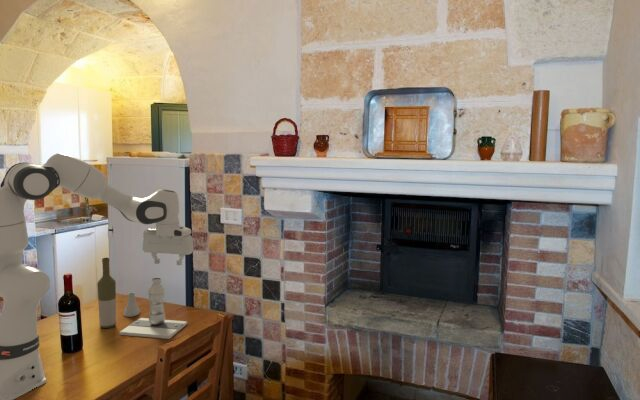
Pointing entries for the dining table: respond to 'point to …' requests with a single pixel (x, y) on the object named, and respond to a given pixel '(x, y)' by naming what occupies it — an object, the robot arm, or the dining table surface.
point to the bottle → (107, 297)
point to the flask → (131, 306)
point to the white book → (153, 328)
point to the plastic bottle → (156, 302)
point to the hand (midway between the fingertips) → (168, 264)
